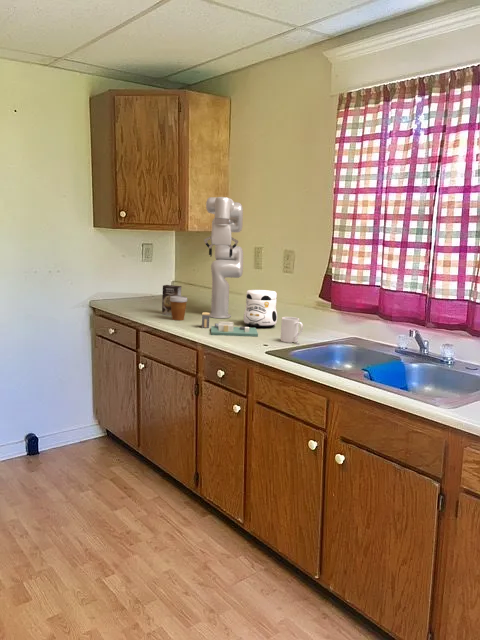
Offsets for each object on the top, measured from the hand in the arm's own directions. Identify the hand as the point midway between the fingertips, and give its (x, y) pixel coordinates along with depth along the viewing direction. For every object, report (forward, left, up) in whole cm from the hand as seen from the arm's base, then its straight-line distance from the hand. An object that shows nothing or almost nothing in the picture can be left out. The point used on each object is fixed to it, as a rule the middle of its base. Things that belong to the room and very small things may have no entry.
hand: (220, 256), depth 283 cm
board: (+18, +8, -35) cm, 40 cm away
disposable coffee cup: (-12, -21, -35) cm, 42 cm away
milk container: (-2, +22, -35) cm, 41 cm away
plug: (+7, -6, -35) cm, 36 cm away
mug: (+35, +34, -35) cm, 60 cm away
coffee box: (-28, -26, -35) cm, 52 cm away
